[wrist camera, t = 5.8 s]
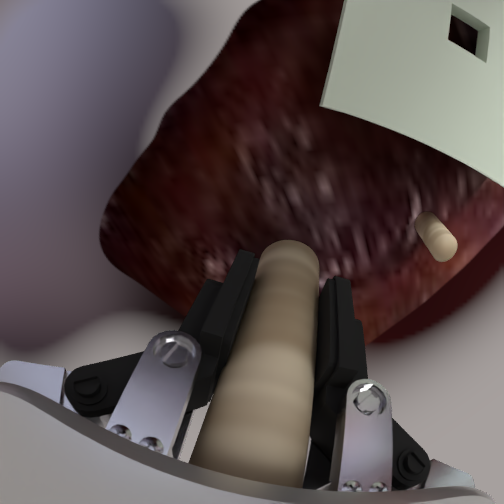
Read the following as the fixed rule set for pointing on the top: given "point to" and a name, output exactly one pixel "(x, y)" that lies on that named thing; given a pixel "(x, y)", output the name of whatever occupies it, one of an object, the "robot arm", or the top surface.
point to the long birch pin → (268, 376)
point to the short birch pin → (436, 236)
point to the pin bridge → (424, 75)
